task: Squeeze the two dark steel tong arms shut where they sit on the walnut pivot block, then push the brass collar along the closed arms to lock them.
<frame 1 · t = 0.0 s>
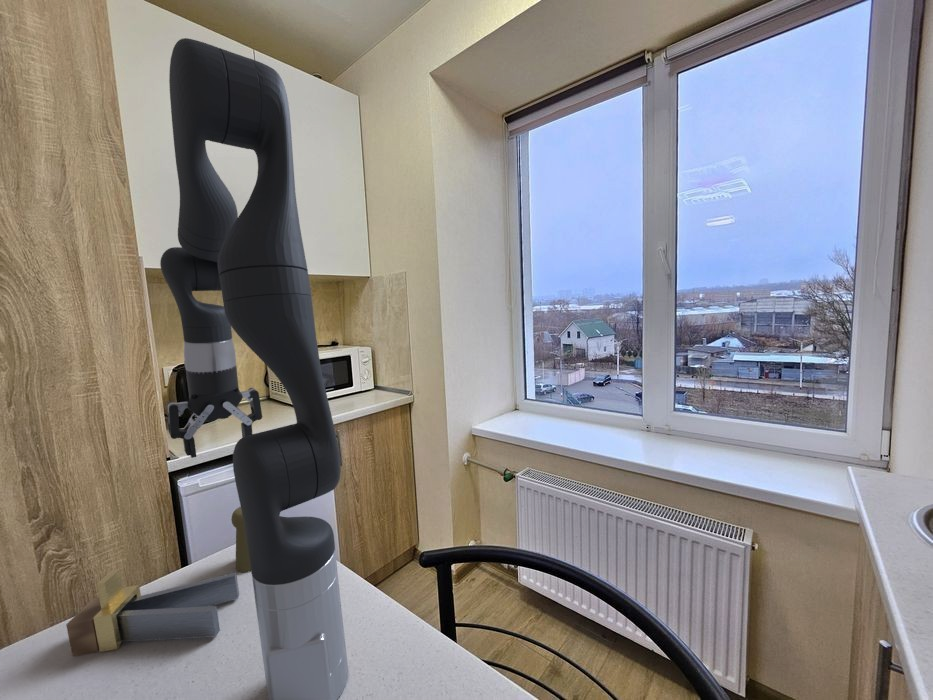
hand: (220, 448, 72), 22 cm above the table, tool pointing down, fingers open, 8 cm apart
tong arm 1: (161, 623, 57), point 3 cm above the table, hinge at -10.0°
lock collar: (118, 604, 58), point 5 cm above the table, slide at 0.0 cm
tong arm 2: (179, 599, 61), point 3 cm above the table, hinge at 10.0°
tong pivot: (113, 636, 58), on the table
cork: (253, 562, 74), on the table
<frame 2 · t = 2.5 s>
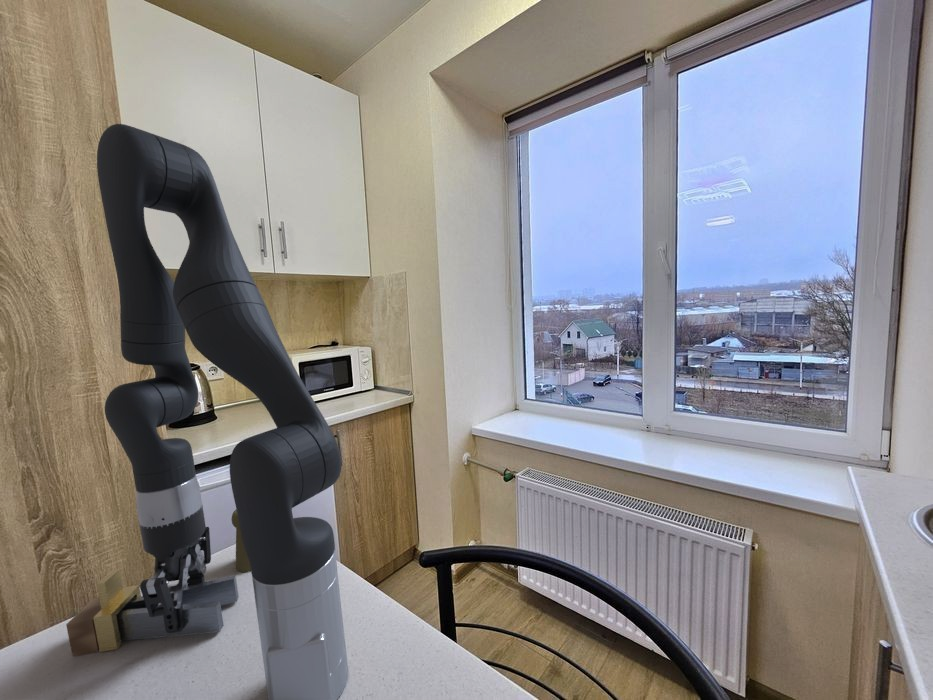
hand: (188, 613, 60), 2 cm above the table, tool pointing down, fingers open, 5 cm apart
tong arm 1: (164, 621, 57), point 2 cm above the table, hinge at -7.0°, touching gripper
tong arm 2: (179, 601, 61), point 2 cm above the table, hinge at 7.4°, touching gripper
everything else where it was.
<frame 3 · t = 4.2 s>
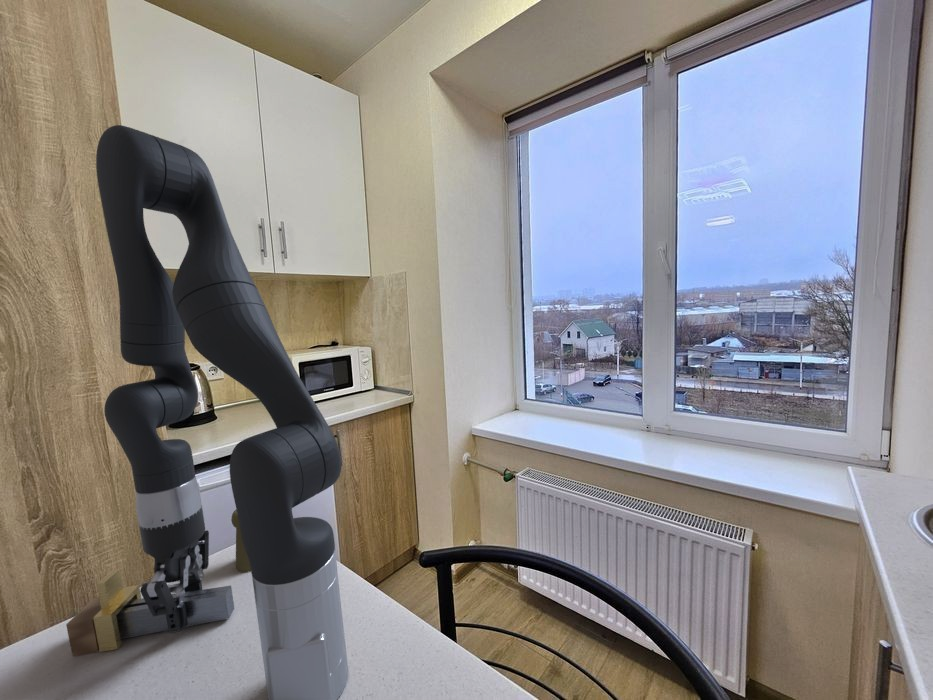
hand: (187, 615, 60), 1 cm above the table, tool pointing down, fingers open, 4 cm apart
tong arm 1: (170, 614, 58), point 2 cm above the table, hinge at 1.2°, touching tong arm 2
tong arm 2: (176, 607, 60), point 3 cm above the table, hinge at -1.6°, touching tong arm 1
everything else where it was.
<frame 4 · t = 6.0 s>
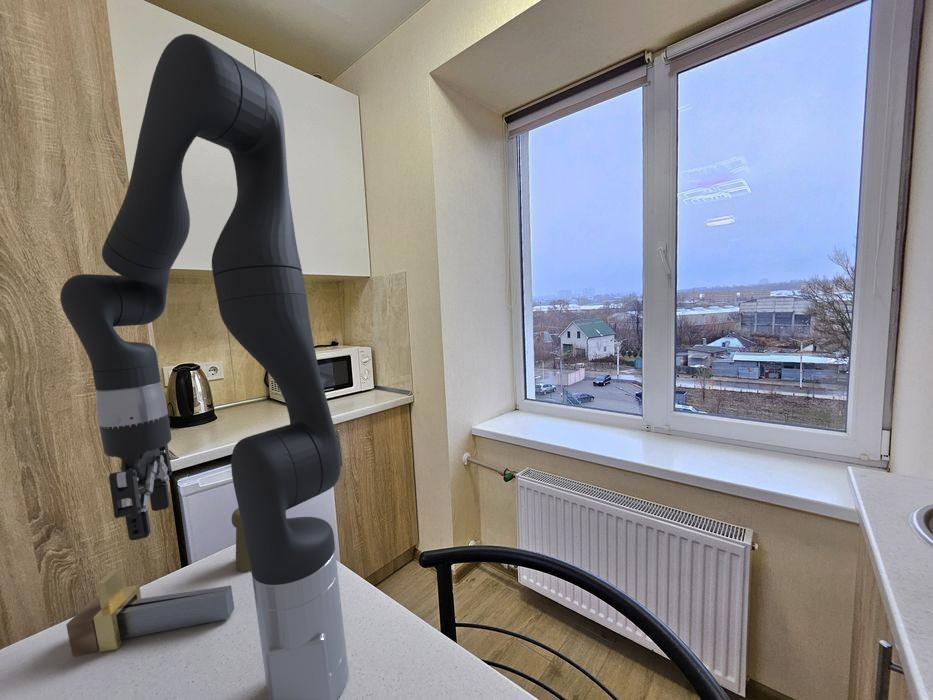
hand: (151, 522, 57), 17 cm above the table, tool pointing down, fingers open, 8 cm apart
nothing on the table moved.
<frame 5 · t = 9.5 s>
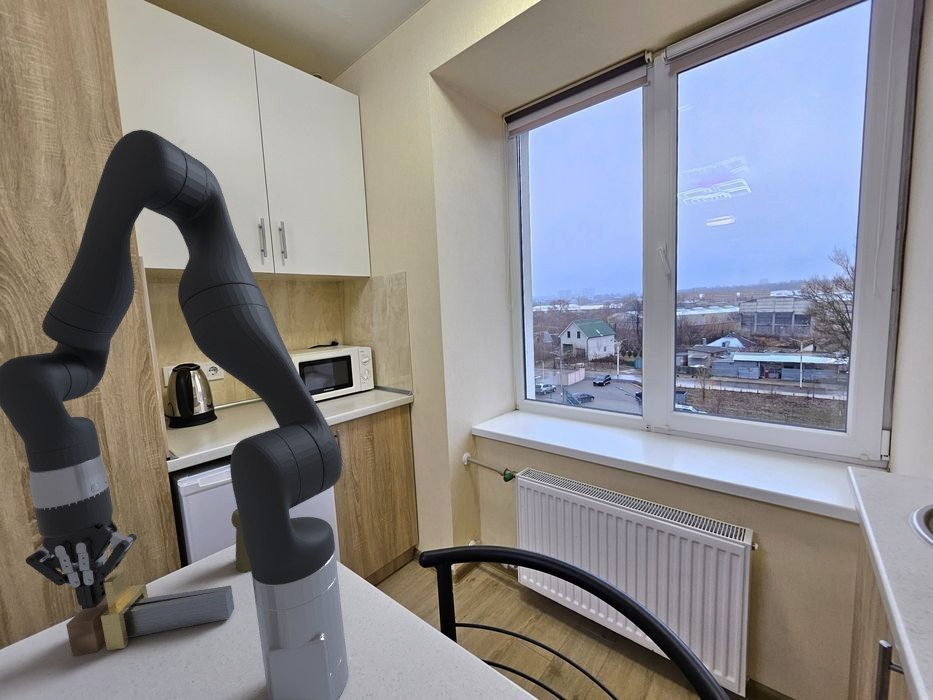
hand: (93, 604, 57), 6 cm above the table, tool pointing down, fingers closed
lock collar: (125, 603, 58), point 5 cm above the table, slide at 0.9 cm, touching gripper
everything else where it was.
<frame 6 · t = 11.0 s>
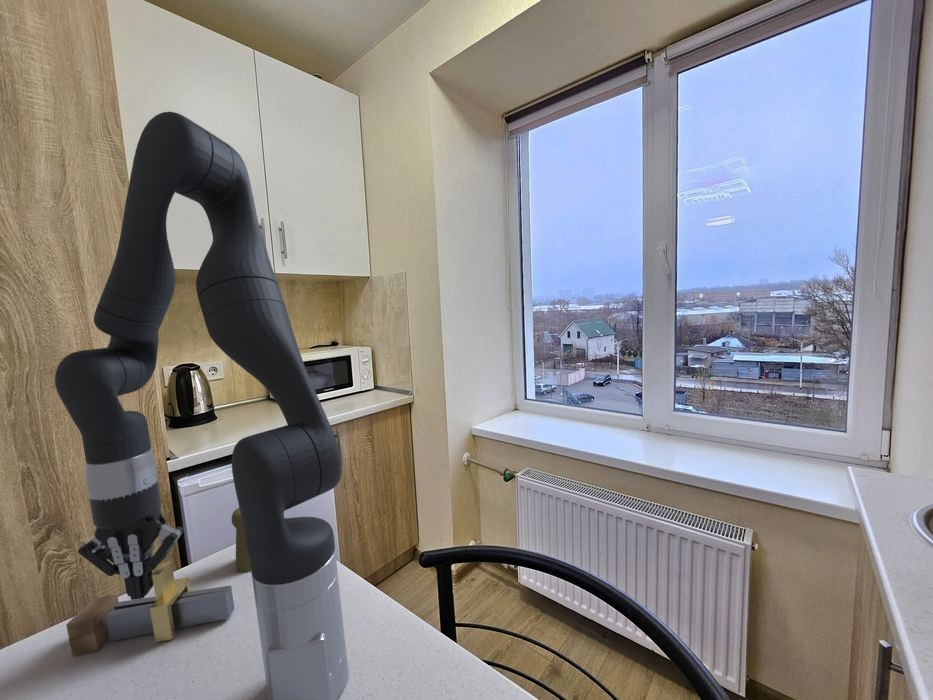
hand: (141, 595, 58), 6 cm above the table, tool pointing down, fingers closed
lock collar: (171, 596, 59), point 5 cm above the table, slide at 7.1 cm, touching gripper
everything else where it was.
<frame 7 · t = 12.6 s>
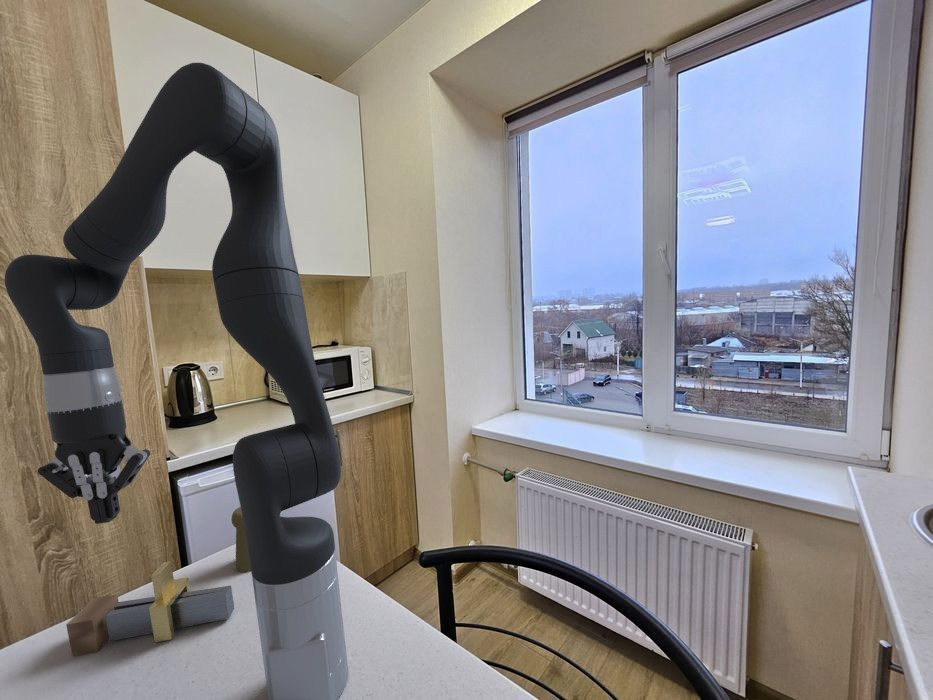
hand: (106, 520, 56), 19 cm above the table, tool pointing down, fingers closed
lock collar: (170, 596, 59), point 5 cm above the table, slide at 7.0 cm
everything else where it was.
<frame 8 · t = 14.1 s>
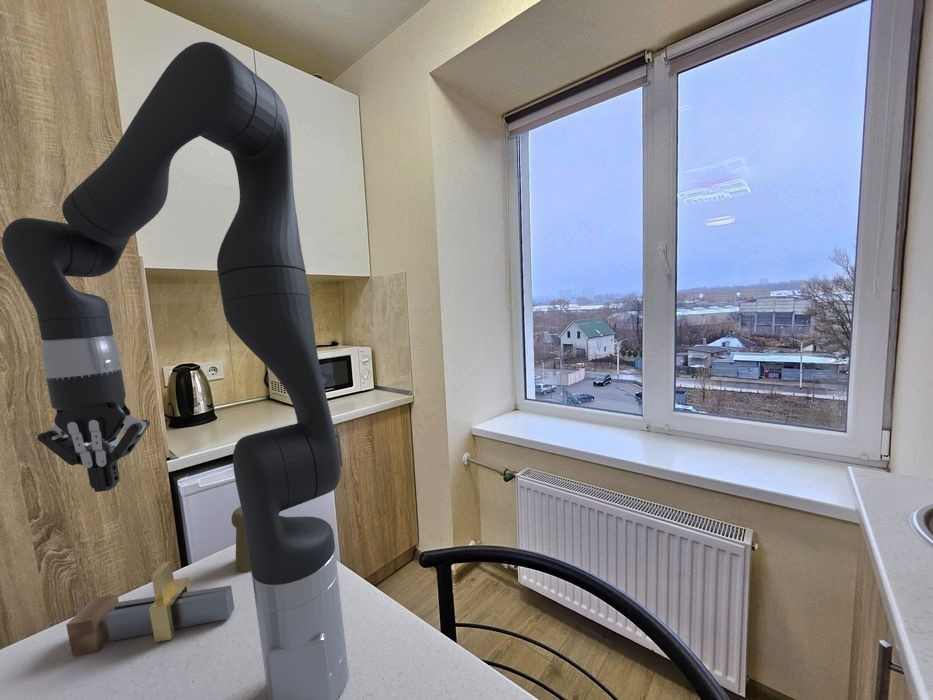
hand: (106, 488, 56), 23 cm above the table, tool pointing down, fingers closed
nothing on the table moved.
at the end: tong arm 2 at -2° (first picture: +10°); tong arm 1 at +1° (first picture: -10°); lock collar slide at 7.0 cm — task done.
